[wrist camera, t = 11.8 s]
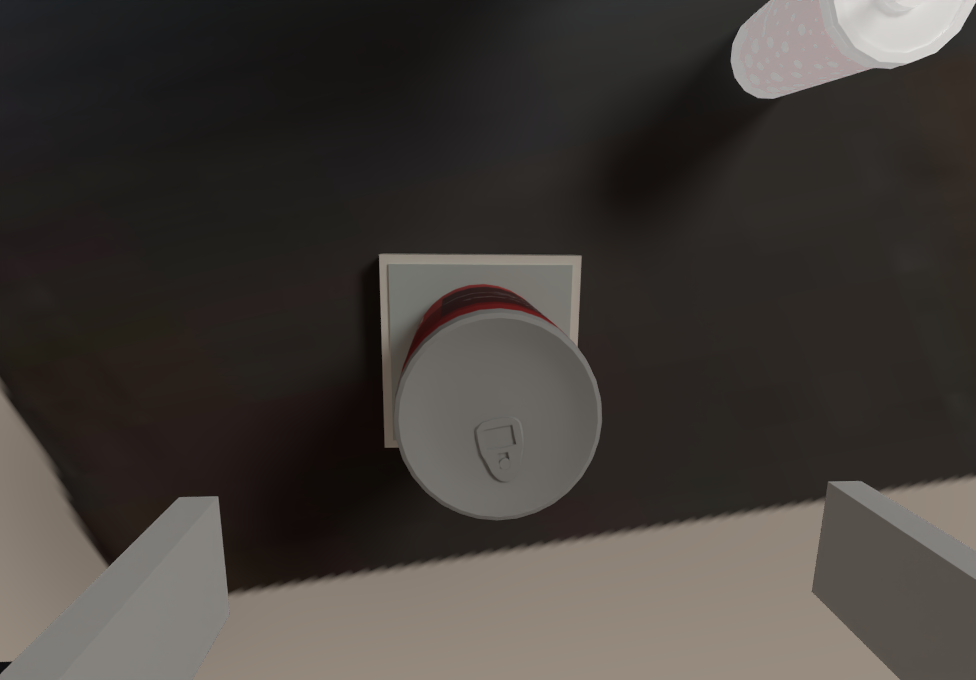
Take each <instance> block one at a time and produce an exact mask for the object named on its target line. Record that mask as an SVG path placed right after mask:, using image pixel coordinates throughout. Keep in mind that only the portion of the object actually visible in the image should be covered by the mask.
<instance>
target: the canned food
mask: <svg viewBox="0 0 976 680" xmlns="http://www.w3.org/2000/svg"><path fill="white" fill-rule="evenodd" d="M601 423H602V412H601V398H600V394H599V390H598V386H597V382H596V379H595V377H594V375H593V373H592V371H591V368H590V366H589V364H588V362H587V361H586V358H585V357H584V356H583V354H582V353H581V351H580V350H579V349H578V347H577V346H576V345H575V343H574V342H573V341H572V340H571V339H570V338H569V337H568V336H567V335H566V334H565V333H564V332H563V331H562V330H560V329H559V328H558V327H557V326H556V325H555V324H554V323H553V322H551V321H550V320H549V319H548V318H547V317H545V316H544V315H543V314H542V313H541V312H539V311H538V310H537V309H536V308H535V307H533V306H532V305H531V304H530V303H528V302H527V301H526V300H525V299H524V298H522V297H521V296H519V295H517V294H516V293H514V292H512V291H511V290H508V289H505V288H502V287H499V286H494V285H487V284H478V285H468V286H465V287H461V288H458V289H455V290H453V291H451V292H449V293H447V294H446V295H444V296H442V297H441V298H440V299H439V300H437V301H436V302H435V303H434V304H433V305H432V306H431V307H430V308H429V310H428V311H427V312H426V313H425V314H424V316H423V318H422V320H421V321H420V323H419V325H418V327H417V330H416V332H415V335H414V338H413V341H412V343H411V346H410V349H409V351H408V354H407V357H406V360H405V362H404V365H403V368H402V372H401V375H400V379H399V382H398V386H397V390H396V393H395V405H394V425H395V433H396V441H397V444H398V447H399V450H400V453H401V456H402V459H403V461H404V463H405V464H406V466H407V468H408V470H409V471H410V473H411V475H412V477H413V478H414V479H415V480H416V481H417V483H418V484H419V485H420V486H421V487H422V488H423V489H424V491H425V492H426V493H428V494H429V495H430V496H431V497H433V498H434V499H435V500H437V501H438V502H439V503H440V504H442V505H444V506H446V507H448V508H450V509H452V510H454V511H456V512H458V513H460V514H464V515H467V516H471V517H474V518H478V519H489V520H504V519H514V518H519V517H523V516H526V515H529V514H533V513H536V512H538V511H540V510H542V509H544V508H546V507H548V506H550V505H552V504H553V503H555V502H556V501H557V500H559V499H560V498H561V497H562V496H564V495H565V494H566V493H568V492H569V491H570V490H571V488H572V487H573V486H574V485H575V484H576V483H577V482H578V480H579V479H580V478H581V477H582V476H583V474H584V472H585V471H586V469H587V467H588V465H589V464H590V462H591V460H592V458H593V455H594V453H595V450H596V447H597V444H598V442H599V436H600V430H601Z"/></svg>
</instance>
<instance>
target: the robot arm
mask: <svg viewBox="0 0 976 680" xmlns="http://www.w3.org/2000/svg"><path fill="white" fill-rule="evenodd" d="M812 592H813V593H814V594H815V595H816V596H817V597H818V598H819V599H820V600H821V601H822V602H823V603H824V604H825V605H826V606H827V607H828V608H829V609H830V610H831V611H832V612H833V613H834V614H835V615H836V616H837V617H838V618H839V619H840V620H841V621H842V622H843V623H844V624H845V625H846V626H847V627H848V628H849V629H850V630H851V631H852V632H853V633H854V634H855V635H856V636H857V637H858V638H859V639H860V640H861V641H862V642H863V643H864V644H865V645H866V646H867V647H868V648H869V649H870V650H871V651H872V652H873V653H874V654H875V655H876V656H877V657H878V658H879V659H880V660H881V661H882V662H883V663H884V664H885V665H886V666H887V667H888V668H889V669H890V670H891V671H892V672H893V673H894V674H895V675H896V676H897V677H898V678H899V679H900V680H976V551H975V550H973V549H972V548H970V547H968V546H967V545H965V544H963V543H962V542H960V541H959V540H957V539H955V538H954V537H952V536H950V535H949V534H947V533H945V532H944V531H942V530H940V529H939V528H937V527H935V526H934V525H932V524H931V523H929V522H927V521H926V520H924V519H922V518H921V517H919V516H918V515H916V514H914V513H913V512H911V511H909V510H908V509H906V508H904V507H903V506H901V505H899V504H898V503H896V502H894V501H893V500H891V499H890V498H888V497H886V496H885V495H883V494H881V493H880V492H878V491H876V490H875V489H873V488H872V487H870V486H868V485H867V484H865V483H863V482H862V481H841V482H828V487H827V493H826V500H825V507H824V514H823V520H822V528H821V534H820V540H819V547H818V554H817V560H816V567H815V574H814V580H813V588H812ZM229 615H230V612H229V601H228V591H227V581H226V571H225V561H224V551H223V541H222V531H221V521H220V510H219V500H218V496H216V497H179V498H178V499H177V500H176V501H175V502H174V503H173V504H172V505H171V506H170V507H169V508H168V509H167V510H166V511H165V512H164V513H163V514H162V515H161V516H160V517H159V518H158V519H157V520H156V521H155V522H154V523H153V524H152V525H151V526H150V527H149V528H148V529H147V530H146V531H145V532H144V533H143V534H142V535H141V536H140V537H139V538H138V539H137V540H136V541H135V542H134V543H133V544H132V545H131V546H129V547H128V548H127V549H126V550H125V551H124V552H123V553H122V554H121V555H120V556H119V557H118V558H117V559H116V560H115V561H114V562H113V563H112V564H111V565H110V566H109V567H108V568H107V569H106V570H105V571H104V572H103V573H102V574H101V575H100V576H99V577H98V578H97V579H96V580H95V581H94V582H93V583H92V584H91V585H90V586H89V587H88V588H87V589H86V590H85V591H84V592H83V593H82V594H81V595H80V596H79V597H78V598H77V599H76V600H75V601H74V602H73V603H72V604H71V605H70V606H69V607H68V608H67V609H66V610H65V611H64V612H63V613H62V614H61V615H60V616H59V617H58V618H57V619H56V620H55V621H54V622H53V623H51V624H50V626H49V627H47V629H45V631H43V632H42V633H41V634H40V636H38V637H37V638H36V639H35V640H34V641H33V642H32V643H31V644H30V645H29V646H28V647H27V648H26V649H25V650H24V651H23V652H22V653H21V654H20V655H19V656H18V657H17V658H16V659H15V660H14V661H13V662H0V680H193V678H194V676H195V674H196V673H197V671H198V669H199V667H200V666H201V664H202V662H203V660H204V659H205V657H206V655H207V653H208V652H209V650H210V648H211V646H212V645H213V643H214V641H215V639H216V638H217V636H218V634H219V632H220V630H221V629H222V627H223V625H224V624H225V622H226V620H227V618H228V617H229Z"/></svg>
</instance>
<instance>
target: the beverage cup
mask: <svg viewBox="0 0 976 680" xmlns="http://www.w3.org/2000/svg"><path fill="white" fill-rule="evenodd" d="M975 2H976V0H770V1H769V2H768V3H767V4H765V5H764V6H763V7H762V8H761V9H760V10H758V11H757V12H756V13H755V14H754V15H753V16H752V17H751V18H750V19H749V20H747V21H746V22H745V23H744V24H743V25H742V26H741V27H740V29H739V31H738V33H737V35H736V37H735V39H734V42H733V44H732V53H731V64H732V68H733V72H734V76H735V79H736V80H737V81H738V83H739V84H740V85H741V87H742V88H743V89H744V91H746V92H748V93H750V94H752V95H754V96H755V97H757V98H771V99H774V98H777V97H780V96H784V95H787V94H790V93H793V92H797V91H800V90H803V89H806V88H810V87H813V86H816V85H819V84H823V83H826V82H829V81H833V80H836V79H839V78H842V77H846V76H849V75H852V74H855V73H859V72H862V71H865V70H869V69H872V68H889V69H892V68H895V67H897V66H902V65H905V64H908V63H910V62H913V61H916V60H918V59H921V58H923V57H926V56H928V55H931V54H934V53H936V52H937V51H938V50H939V49H940V48H942V47H943V46H944V45H945V44H946V43H947V42H948V41H949V40H950V39H951V38H952V37H954V36H955V35H956V34H957V33H958V32H959V31H960V30H961V28H962V26H963V24H964V22H965V21H966V19H967V17H968V15H969V13H970V11H971V10H972V8H973V6H974V4H975Z"/></svg>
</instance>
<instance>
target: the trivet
mask: <svg viewBox="0 0 976 680" xmlns="http://www.w3.org/2000/svg"><path fill="white" fill-rule="evenodd" d="M379 268H380V302H381V335H382V369H383V403H384V437H385V448H396V447H398V444H397V441H396V433H395V425H394V405H395V393H396V390H397V386H398V382H399V379H400V375H401V372H402V368H403V365H404V362H405V360H406V357H407V354H408V351H409V349H410V346H411V343H412V341H413V338H414V335H415V332H416V330H417V327H418V325H419V323H420V321H421V320H422V318H423V316H424V314H425V313H426V312H427V311H428V310H429V308H430V307H431V306H432V305H433V304H434V303H435V302H436V301H437V300H439V299H440V298H441V297H442V296H444V295H446V294H447V293H449V292H451V291H453V290H455V289H458V288H461V287H465V286H468V285H478V284H487V285H494V286H499V287H502V288H505V289H508V290H511V291H512V292H514V293H516V294H517V295H519V296H521V297H522V298H524V299H525V300H526V301H527V302H528V303H530V304H531V305H532V306H533V307H535V308H536V309H537V310H538V311H539V312H541V313H542V314H543V315H544V316H545V317H547V318H548V319H549V320H550V321H551V322H553V323H554V324H555V325H556V326H557V327H558V328H559V329H560V330H562V331H563V332H564V333H565V334H566V335H567V336H568V337H569V338H570V339H571V340H572V341H573V342H574V343H575V345H576V346H577V345H578V322H579V300H580V277H581V256H579V255H533V254H402V253H382V254H379Z"/></svg>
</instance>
